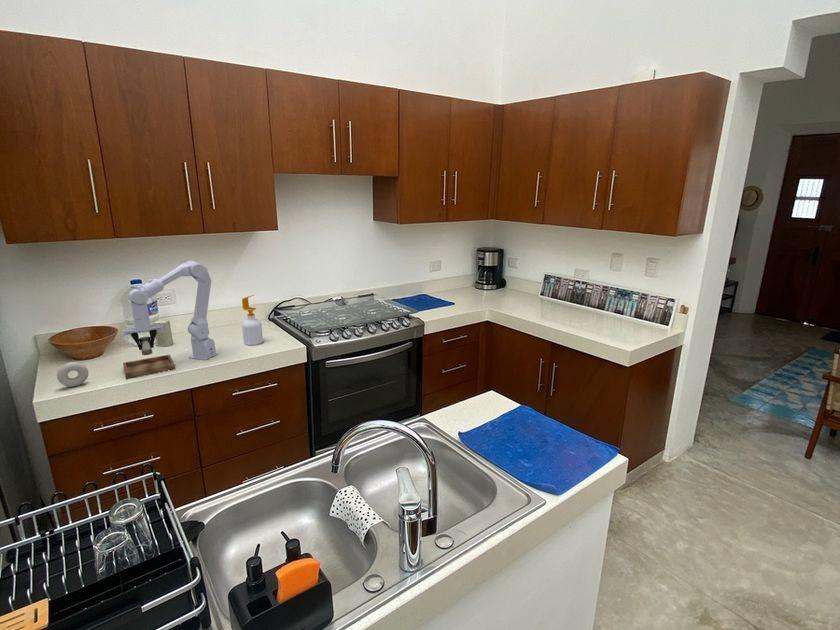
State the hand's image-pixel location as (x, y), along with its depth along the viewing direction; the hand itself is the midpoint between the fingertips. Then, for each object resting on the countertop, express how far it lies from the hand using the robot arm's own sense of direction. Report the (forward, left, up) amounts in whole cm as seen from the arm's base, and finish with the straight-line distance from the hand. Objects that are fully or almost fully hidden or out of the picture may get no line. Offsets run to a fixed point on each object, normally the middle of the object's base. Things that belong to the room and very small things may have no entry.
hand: (146, 348), depth 194 cm
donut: (+14, +22, -10) cm, 28 cm away
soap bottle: (-23, -42, -10) cm, 49 cm away
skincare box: (+17, -27, -10) cm, 33 cm away
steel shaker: (0, 0, -2) cm, 3 cm away
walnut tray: (0, 0, -9) cm, 9 cm away
